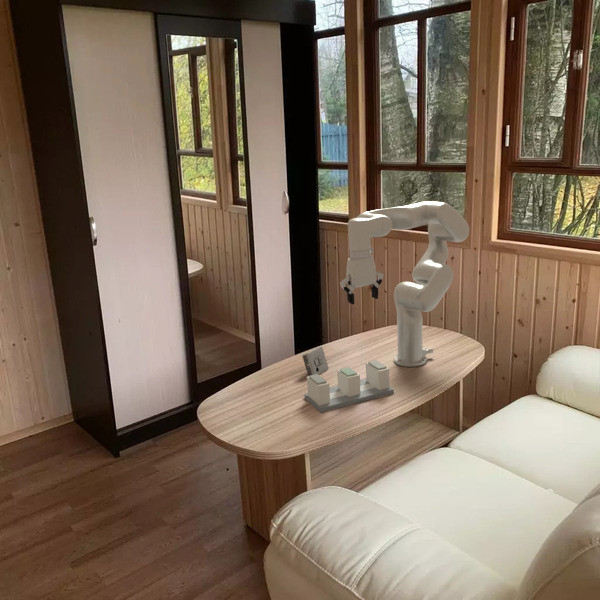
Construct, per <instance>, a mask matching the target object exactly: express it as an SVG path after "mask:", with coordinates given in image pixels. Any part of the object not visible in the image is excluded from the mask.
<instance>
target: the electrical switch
mask: <svg viewBox="0 0 600 600" xmlns="http://www.w3.org/2000/svg"><path fill="white" fill-rule="evenodd" d="M301 358H302V360H303V364H304V366H305V370H306V374H307V376H311V375H315V374H318V375H320V374H322V373H324V372H326V371H327V370H329V365H328V362H327V361H328V360H327V356H326V354H325V351H324V348H323V346H318V347H316V348H315V349H312V350H311V351H309V352H306V353H304V354H303V355H302V357H301Z"/></svg>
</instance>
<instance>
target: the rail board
mask: <svg viewBox="0 0 600 600" xmlns="http://www.w3.org/2000/svg"><path fill="white" fill-rule="evenodd" d="M329 390H330V403H328V404H324V405H320V406H319V405H318V404H317V403H316V402H315V401H314V400H313V399H311V398H310V397H309V396H308V392H305V393H304V395H303V396H304V399H305V400H306V401H307V402H308V403H310V404H311V405H312V406H313V407H314V408H315V409H317V410H318V412H320V413H324V412H328V411H331V410H335V409H339V408H343V407H347V406H351V405H356V404H358V403H361V402H362V403H363V402H365V401H370V400H375V399H377V398H381V397H384V396H389V395H393V394H395V389H394V388H393V387H391V386H390V385H389V388H386V389H382V390H379V389H377V388H376V387H374V386H373V385H372V384H370V383H368V382H367V381H366V378H363V379H360V393H361V394H359V395H355V396H351V397H348V396H347V395H346V394H344V393H343V392H342V391H341V390H339V389H338V385H335V386H329Z"/></svg>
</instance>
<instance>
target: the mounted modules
mask: <svg viewBox="0 0 600 600" xmlns="http://www.w3.org/2000/svg"><path fill="white" fill-rule="evenodd" d="M365 375H366V377H365V379H366V381H367V382H368V383H370V384H372V385H373V386H374V387H376V388H377V389H379V390H382V389H386V388H389V386H390V368H388V367H387V365H385V364H383V363H381V362H379V361H378V360H377V359H376V360H375V359H374V360H371V361H368V362H365ZM306 383H307V393H308V396H309V397H310V398H311V399H313V400H314V401H315V402H316V403H317V404H318V405H319V406H320V405H324V404H328V403H330V390H329V388H330V383H329V382H328V381H327V380H326V379H324V377H323V376H321V375H320V374H319V375H318V374H315V375H307V376H306Z"/></svg>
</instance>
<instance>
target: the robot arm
mask: <svg viewBox="0 0 600 600" xmlns="http://www.w3.org/2000/svg"><path fill="white" fill-rule="evenodd" d="M426 225H427V232H428V233H427V235H428V247H427V249H426V251H425V252H424V253H423V255H422V256H421V258H420V259H419V260H418V261H417V263H416V265H415V266H414V269H413V270H412V274H411V277H412V280H413V281H414V282H413V281H401V282H400V283H398V284H397V285H396V286H395V288H394V291H393V300H394V305H395V309H396V328H397V330H396V332H397V334H396V335H397V337H396V339H397V354H396V355H395V356H393V361H394V364H396V365H398V366H401V367H407V368H408V367H410V368H412V367H413V368H414V367H419V366H423V365H425V364H427V362H428V361H427V357H426V355H428V354H432V353H433V352H434V349H433V347H430V348H427V347H423V315H422V313H423V312H425V313H428V312H431V311H432V310H434V309H435V308H436V307H437V306H438V304H439V303H440V301H441V300H442V298H443V297H444V296H445V294H446V293H447V291H448V290H449V288H450V287H451V285H452V283H453V280H454V271H453V269H452V267H451V266H450V265H449V264H446V262H447V261H448V258H449V255H450V254H449V248H448V244H447V243H448V242H451V243H452V242H454V243H462V242H464V241H465V240H467V239H468V237H469V235H470V226H469V224H468V222H467V220H466V219H465V218H464V217H463V216H462V215H461V214H460V213H459V212H458V211H457V210H456V209H455V208H454V207H453V206H452V205H450V204H449V203H447V202H443V201H434V200H433V201H431V200H429V201H428V200H426V201H425V200H424V201H421V202H416V203H411V204H408V205H403V206H395V207H394V206H393V207H388V208H380V209H379V208H378V209H374V210H373V209H372V210H370V211H365V212H362V213H360V214H359V215H358V216H356V217H353V218H351V219H349V220H348V221H347V233H348V247H349V251H348V252H349V258H347V262H346V274H345V277H344V279H342V280H341V281H340V282H339V285H340V287H341V289H342V290H343V291H345V292H346V296H347V297H346V298H347V302H348V303H349V304H351V305H355V294H354V293H353V292H354V291H355V289H357V288H360V287H366V286H370V285H371V298H374V299H375V300H378V299H379V288H380V285H381V284H382V283H383V278H384V277H385V273H381V272H379V271H377V267H376V263H375V258H374V256H373V255H372V254H373V253H374V252H375V249H374V248H373V247H372V241H371V240H372V238H382V237H386V236H387V235H388V234H389V233H390V232H391V231H392V230H397V231H401V230H410V229H414V228H418V227H423V226H426ZM377 276H378V277H377ZM433 354H434V353H433Z"/></svg>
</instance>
